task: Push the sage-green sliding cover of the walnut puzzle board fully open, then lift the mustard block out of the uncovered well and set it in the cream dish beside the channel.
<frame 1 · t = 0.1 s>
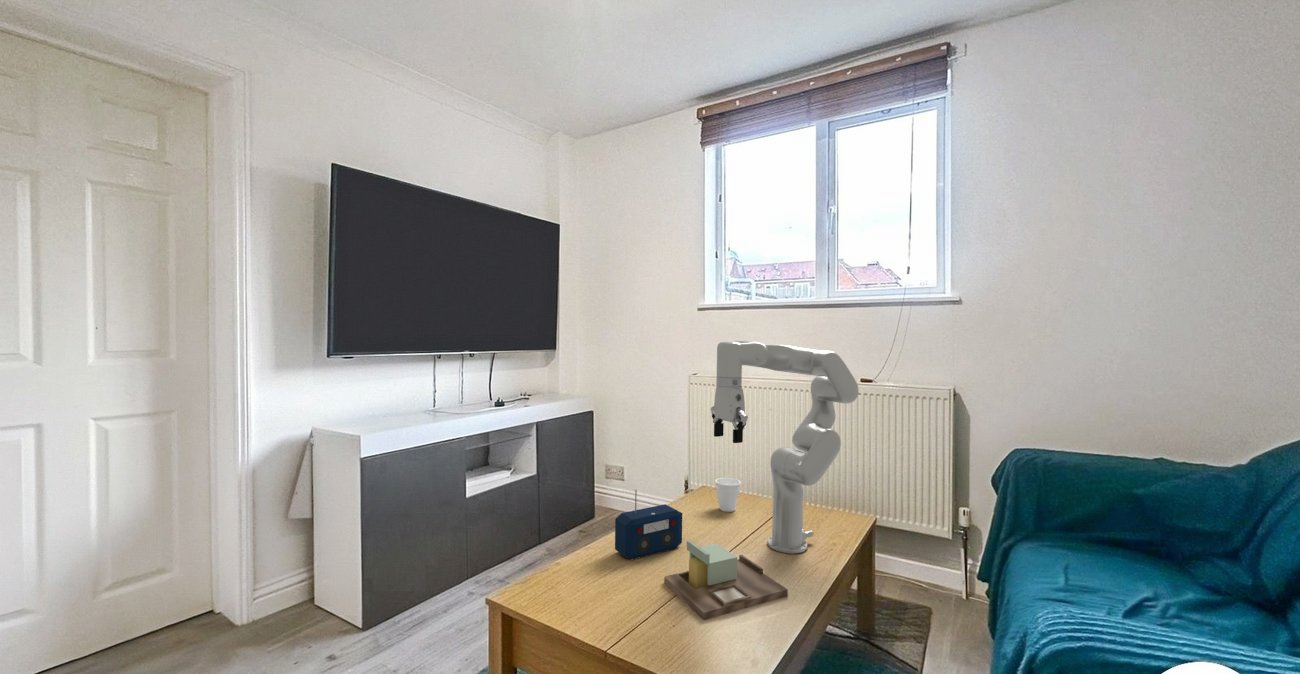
hand: (727, 439, 157), 37 cm above the table, tool pointing down, fingers open, 9 cm apart
radio: (649, 551, 164), on the table
puzzle board: (724, 590, 140), on the table
cup: (727, 510, 202), on the table
block: (698, 585, 142), resting on puzzle board
cover: (711, 559, 144), point 6 cm above the table, slide at 4.5 cm
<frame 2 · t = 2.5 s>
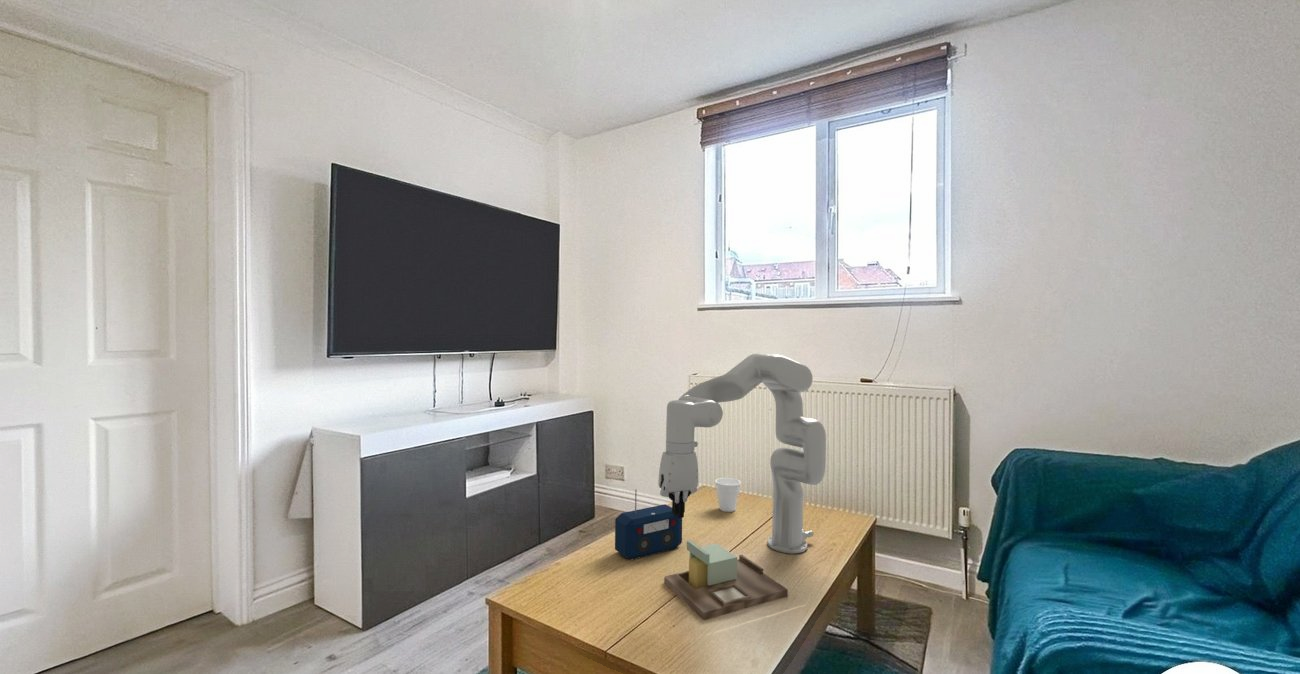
hand: (678, 516, 138), 20 cm above the table, tool pointing down, fingers closed
nothing on the table moved.
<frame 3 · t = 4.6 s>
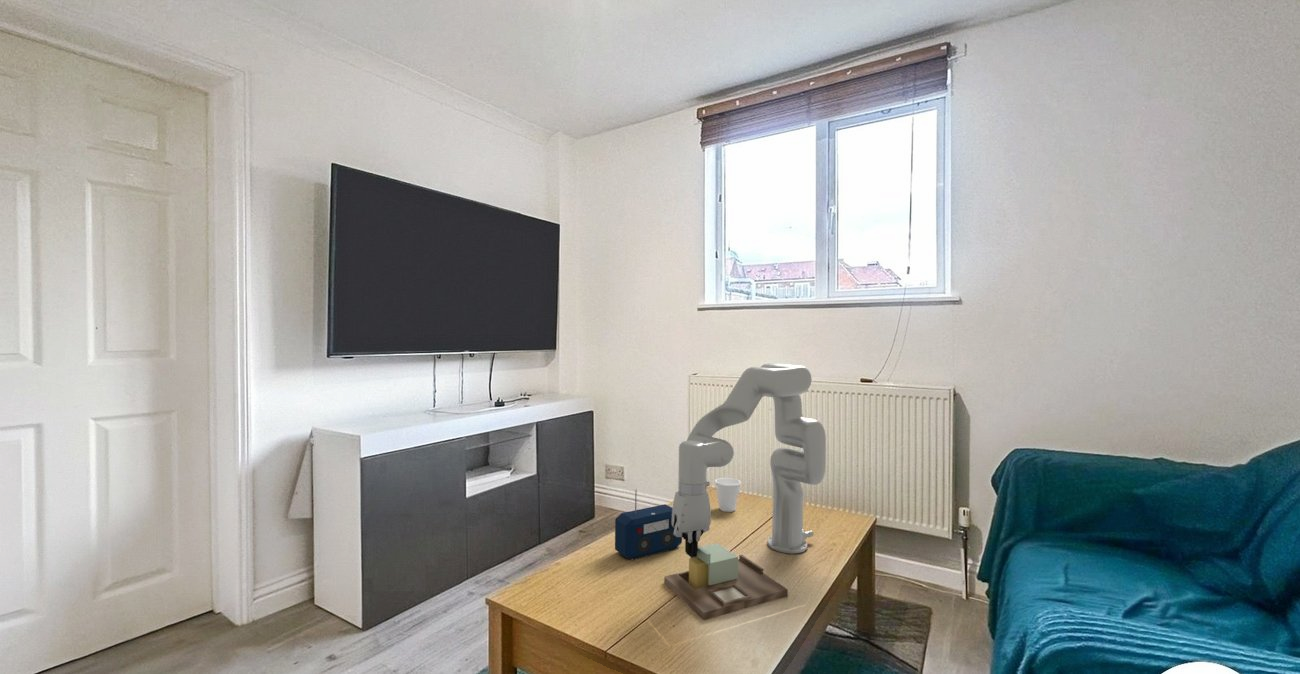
hand: (691, 554, 141), 9 cm above the table, tool pointing down, fingers closed
cover: (712, 559, 144), point 7 cm above the table, slide at 4.8 cm, touching gripper
everything else where it was.
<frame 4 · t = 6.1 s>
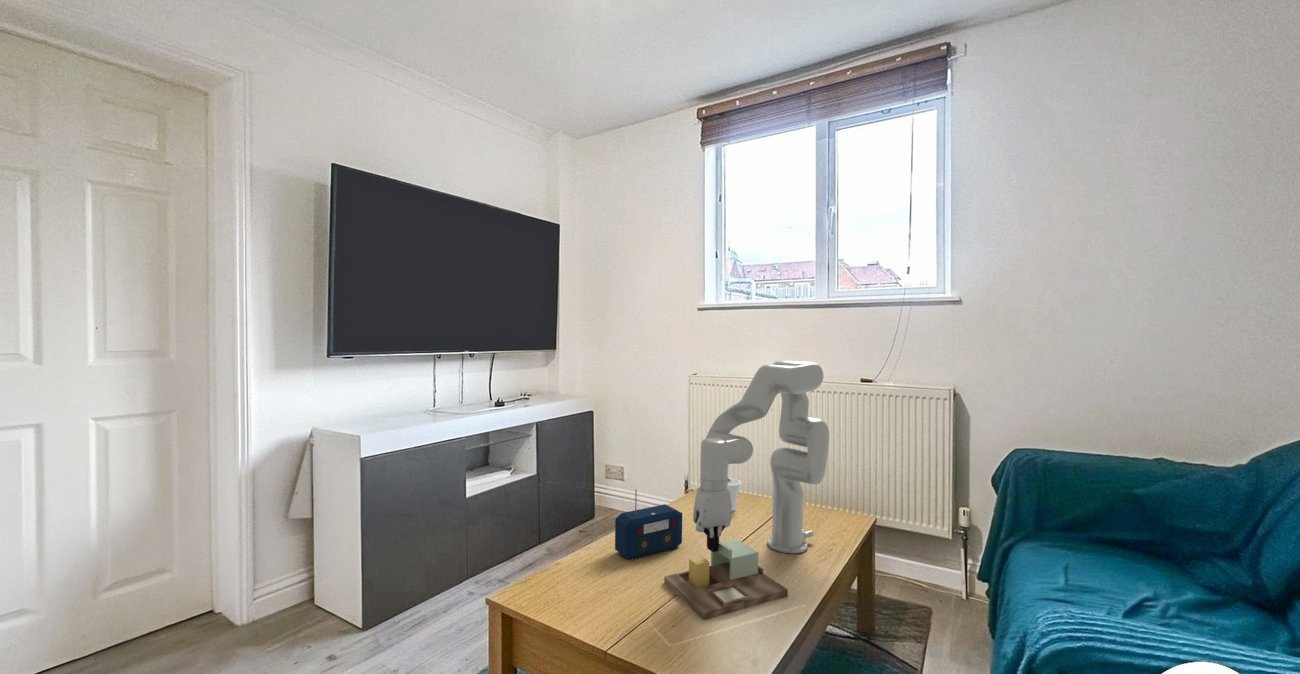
hand: (712, 549, 144), 9 cm above the table, tool pointing down, fingers closed
cover: (732, 554, 147), point 7 cm above the table, slide at 11.7 cm, touching gripper
everything else where it was.
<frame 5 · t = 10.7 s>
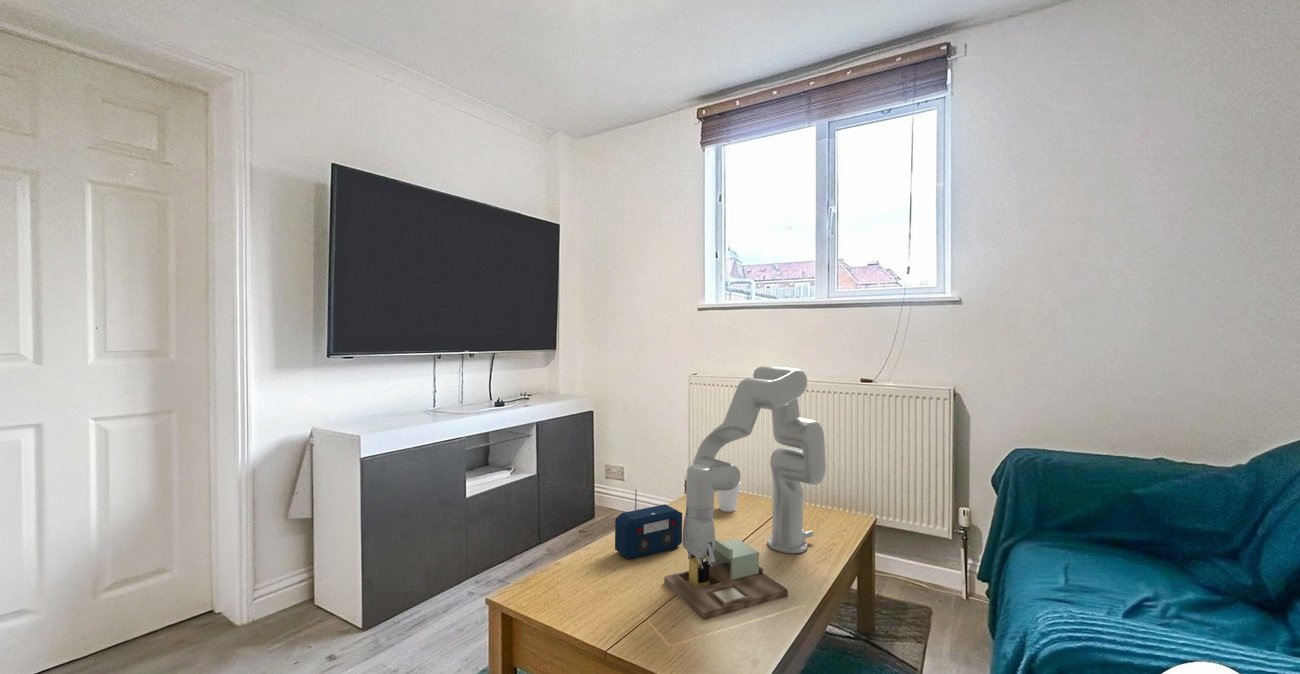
hand: (698, 577, 142), 2 cm above the table, tool pointing down, fingers closed on block, 3 cm apart
block: (698, 584, 142), resting on puzzle board, touching gripper
cover: (733, 554, 147), point 7 cm above the table, slide at 11.9 cm
everything else where it was.
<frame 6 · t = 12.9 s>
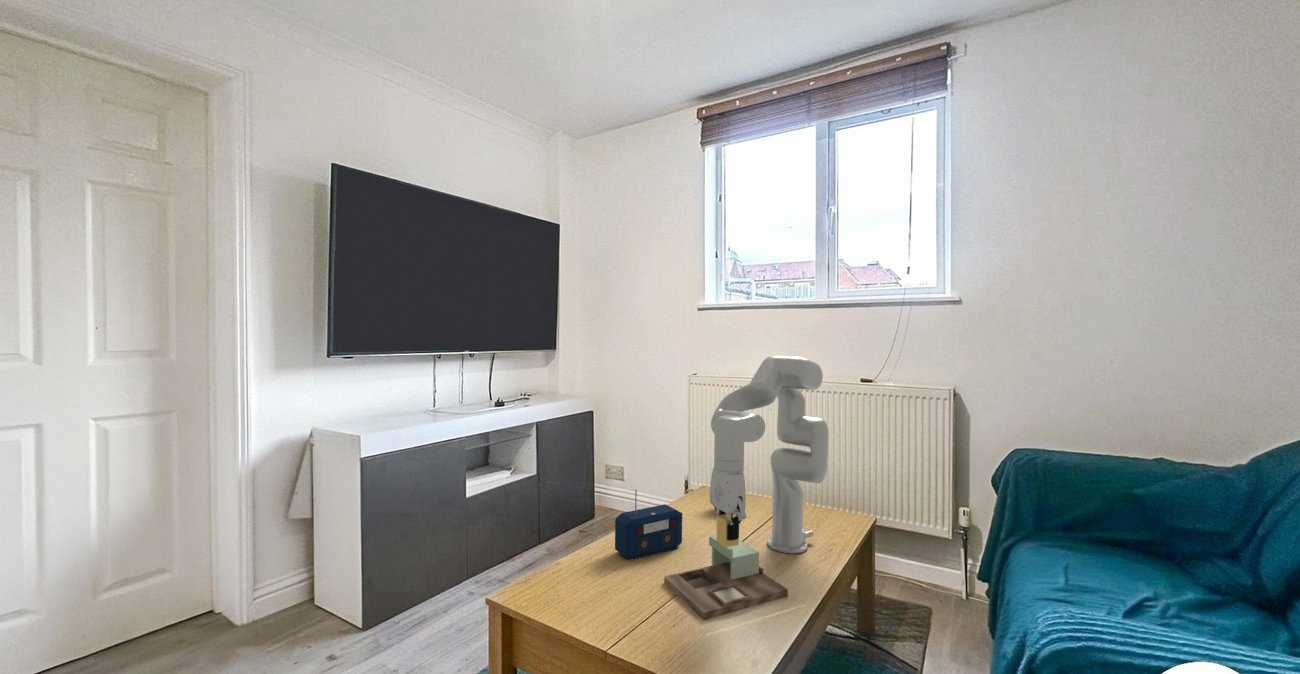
hand: (727, 535, 133), 17 cm above the table, tool pointing down, fingers closed on block, 4 cm apart
block: (727, 543, 133), point 15 cm above the table, touching gripper
everything else where it was.
when the fingers open (5 cm above the table, at t = 15.5 s): block drops 1 cm, resting on puzzle board.
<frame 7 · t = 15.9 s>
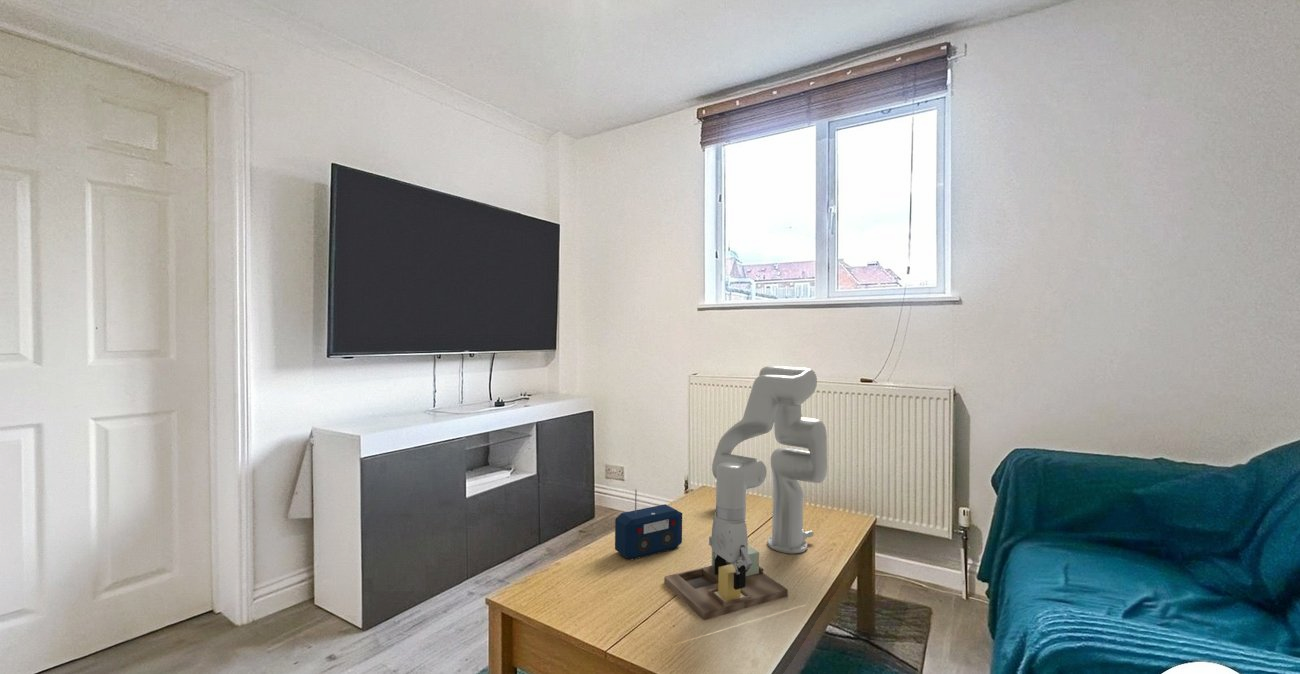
hand: (729, 580, 133), 6 cm above the table, tool pointing down, fingers open, 7 cm apart
block: (729, 595, 133), point 2 cm above the table, touching puzzle board
everything else where it was.
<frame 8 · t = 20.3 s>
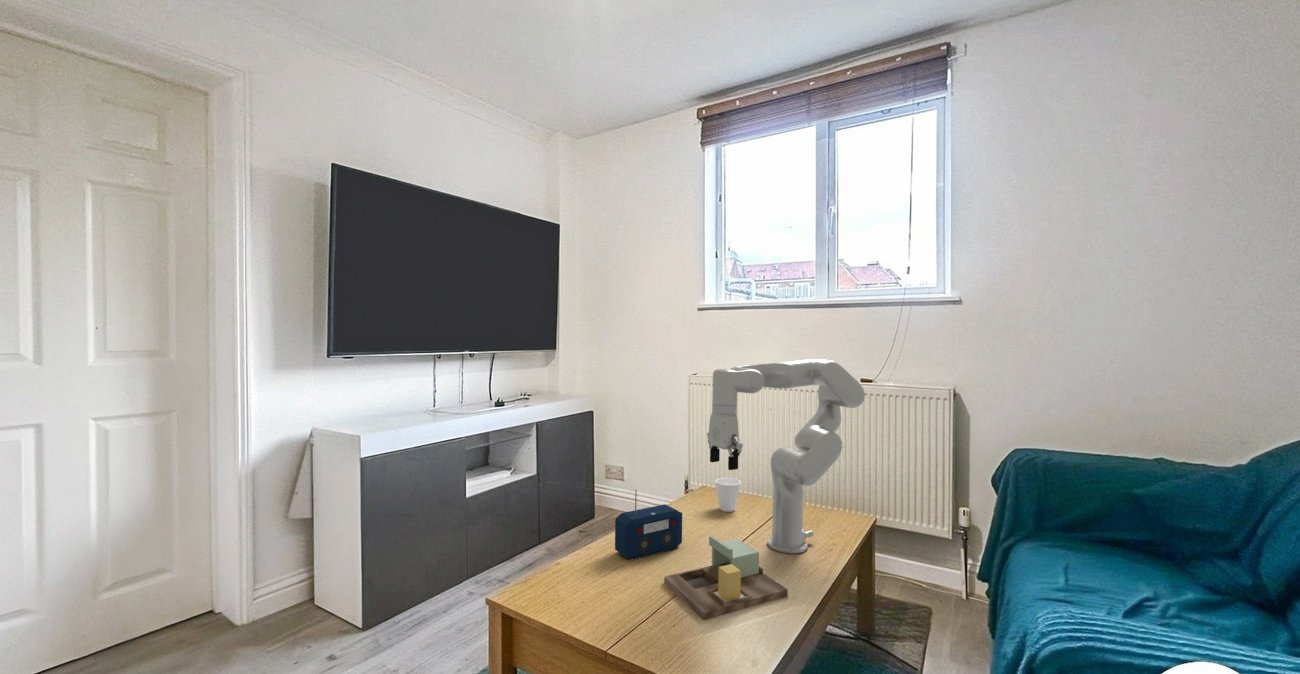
hand: (723, 465, 159), 28 cm above the table, tool pointing down, fingers open, 9 cm apart
nothing on the table moved.
at the end: cover slide at 11.9 cm; block inside the target area on the puzzle board (0.1 cm from its centre), point 2.2 cm above the puzzle board's base; the gripper is holding nothing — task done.
